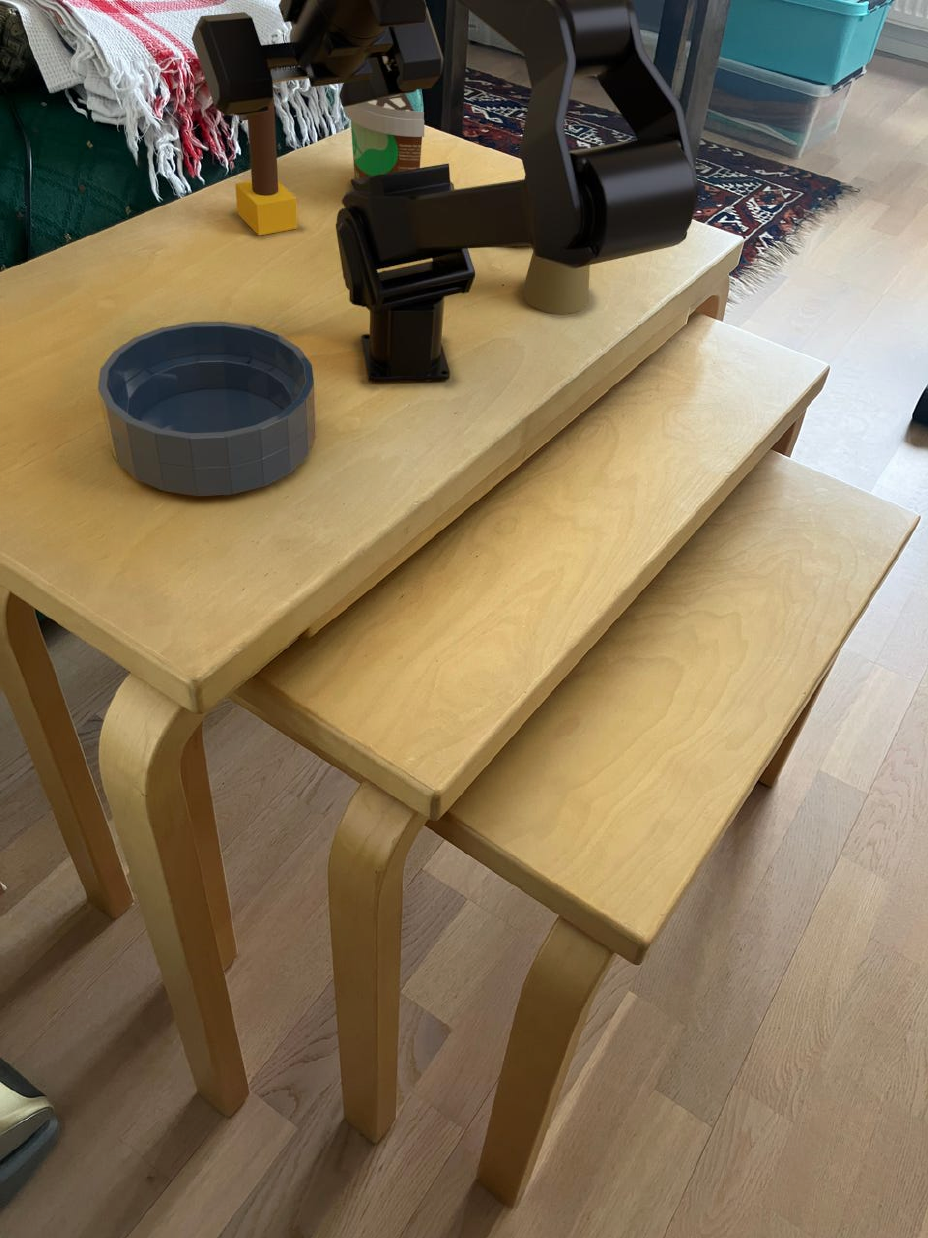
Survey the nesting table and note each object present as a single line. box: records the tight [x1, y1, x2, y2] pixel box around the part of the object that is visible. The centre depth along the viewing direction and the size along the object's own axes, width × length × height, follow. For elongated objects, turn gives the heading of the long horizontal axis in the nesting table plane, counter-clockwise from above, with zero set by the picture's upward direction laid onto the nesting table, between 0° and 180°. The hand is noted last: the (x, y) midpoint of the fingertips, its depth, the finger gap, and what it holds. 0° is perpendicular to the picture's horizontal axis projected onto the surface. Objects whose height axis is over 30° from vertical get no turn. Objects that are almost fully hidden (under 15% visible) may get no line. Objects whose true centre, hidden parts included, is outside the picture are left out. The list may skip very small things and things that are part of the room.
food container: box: [342, 94, 425, 179], centre depth 100 cm, size 12×6×10 cm, turn 17°
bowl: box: [97, 321, 317, 497], centre depth 71 cm, size 14×14×6 cm
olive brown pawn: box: [521, 250, 591, 315], centre depth 88 cm, size 6×6×11 cm
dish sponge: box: [234, 69, 298, 237], centre depth 93 cm, size 5×4×14 cm
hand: (293, 107), depth 85 cm, fingers open, 9 cm apart
